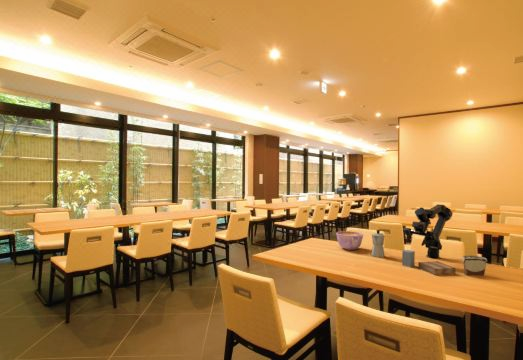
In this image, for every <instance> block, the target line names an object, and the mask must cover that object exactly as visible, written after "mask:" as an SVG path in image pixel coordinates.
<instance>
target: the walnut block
mask: <svg viewBox="0 0 523 360" xmlns="http://www.w3.org/2000/svg"><path fill="white" fill-rule="evenodd" d="M417 265H418V266H417V268H418V269H419V270H421V269H422V271H424V272H426V273H429V274H431V275H433V276H445V275H446V276H447V275H449V276H450V275H456V267H454V266H452V265H448V264H445V263H443V262H440V261H418V264H417Z"/></svg>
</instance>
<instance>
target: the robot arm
mask: <svg viewBox="0 0 523 360" xmlns="http://www.w3.org/2000/svg"><path fill="white" fill-rule="evenodd" d="M414 214H415V217H416V218H417V220H419V221H412V224H411V227H412V228H413V230H412V228H410V227H403V229H402V231H403V232H404V235H405V236H406V244H408V243H410V240H411V239H412V237H413V236H414V235H417V236H422V237H424V238H423V240H422V242H421V244H420V245H421V246H422V247H423V246H424V247H425V248H427V254H426V255H425V256H426V257H427V258H430V259H434V260H435V259H442V257H441V256H440V251H442V248H443V245H442V242H441V239H440V236H441V234H442V231H443V229H444V227H445V226H446V225H445V224H446V223H447V222H448V221H449V220H451V218H452V217H453V211H452V210H451V209H450V208H449V207H447V206H446V205H444V204H436V205H434V206H433V207H431V208H424V207H419V208H417V209H416V210H414ZM436 216H437V217H438V218H437V221H436V223H435V226H434V227H433V230H432V231H430V230H429V229H428V228H429V225H431V224H432V222H431V220H434V219H435V218H436Z"/></svg>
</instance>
